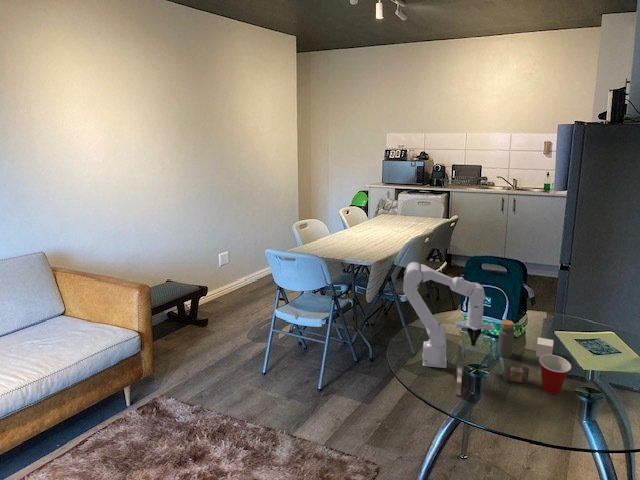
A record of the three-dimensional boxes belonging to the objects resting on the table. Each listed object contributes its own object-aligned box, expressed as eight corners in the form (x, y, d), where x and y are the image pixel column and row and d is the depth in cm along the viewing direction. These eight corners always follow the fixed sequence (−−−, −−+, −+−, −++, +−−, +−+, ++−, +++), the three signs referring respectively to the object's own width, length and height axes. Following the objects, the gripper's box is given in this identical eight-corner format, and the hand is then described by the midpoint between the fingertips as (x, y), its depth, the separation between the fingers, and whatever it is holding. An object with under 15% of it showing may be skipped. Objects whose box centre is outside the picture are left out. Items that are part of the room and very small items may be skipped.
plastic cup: (554, 402, 177) (558, 372, 174) (529, 387, 186) (532, 359, 183) (574, 393, 182) (578, 364, 178) (549, 379, 191) (552, 351, 188)
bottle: (513, 358, 206) (516, 325, 202) (498, 357, 207) (501, 324, 203) (510, 351, 212) (513, 319, 207) (496, 350, 213) (499, 318, 209)
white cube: (535, 356, 207) (537, 343, 206) (536, 349, 212) (537, 337, 211) (551, 359, 205) (553, 346, 203) (552, 352, 210) (553, 339, 208)
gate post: (455, 376, 194) (456, 363, 193) (455, 372, 197) (456, 360, 195) (463, 377, 194) (464, 364, 192) (463, 373, 196) (463, 360, 195)
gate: (457, 376, 194) (457, 365, 192) (461, 377, 193) (462, 365, 192) (456, 395, 182) (456, 382, 181) (460, 395, 182) (461, 383, 180)
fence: (503, 381, 190) (504, 368, 189) (502, 377, 193) (503, 364, 191) (528, 383, 188) (529, 370, 187) (527, 380, 191) (528, 367, 189)
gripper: (456, 316, 193) (454, 347, 197) (495, 319, 190) (492, 351, 194) (456, 309, 200) (454, 339, 204) (493, 312, 197) (491, 342, 200)
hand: (473, 344), depth 199 cm, fingers closed
